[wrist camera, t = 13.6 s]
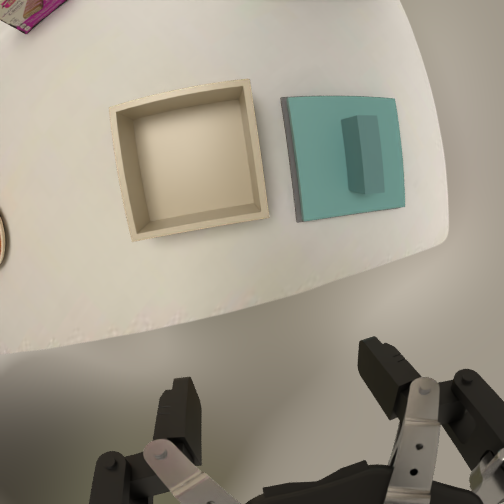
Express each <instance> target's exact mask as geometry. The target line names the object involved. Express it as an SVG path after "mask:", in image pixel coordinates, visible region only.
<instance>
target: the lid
mask: <svg viewBox="0 0 504 504" xmlns="http://www.w3.org/2000/svg"><path fill="white" fill-rule="evenodd" d="M286 100H287V106H288V113H289V119H290V126H291V133H292V140H293V147H294V154H295V162H296V169H297V177H298V186H299V194H300V203H301V213H302V220H303V221H310V220H316V219H323V218H329V217H336V216H343V215H350V214H356V213H363V212H370V211H377V210H385V209H392V208H399V207H405V189H404V171H403V158H402V148H401V138H400V130H399V122H398V115H397V109H396V103H395V99H393V98H380V97H359V96H309V97H288V98H287V99H286Z"/></svg>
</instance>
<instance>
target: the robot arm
mask: <svg viewBox="0 0 504 504" xmlns="http://www.w3.org/2000/svg"><path fill="white" fill-rule="evenodd" d="M358 371H359V373H360V376H361V377H362V379H363V380H364V382H365V383H366V385H367V386H368V388H369V389H370V391H371V392H372V394H373V396H374V397H375V398H376V400H377V402H378V403H379V405H380V406H381V408H382V409H383V411H384V412H385V414H386V416H387V417H388V419H389V420H392V419H394V418H397V417H398V418H399V420H400V422H399V425H398V430H397V434H396V438H395V442H394V446H393V450H392V453H391V456H390V460H389V462H388V465H368V464H367V462H366V461H365V460H363V461H361V462H358V463H355V464H353V465H350V466H347V467H344V468H341V469H340V470H338V471H336V472H334V473H332V474H331V475H329V476H327V477H325V478H323V479H321V480H319V481H316V482H297V483H285V484H280V485H275V486H270V487H264V488H263V492H264V494H261V495H259V496H257V497H255V498H253V499H251V500H250V501H248V502H247V503H246V504H499V503H502V502H504V401H503V400H502V399H501V398H500V397H499V396H498V395H497V394H496V393H495V391H494V390H493V389H491V387H490V386H489V385H488V384H487V383H486V382H485V381H484V380H483V379H482V378H481V376H480V375H479V374H478V373H477V372H475V371H473V370H470V369H463V370H460V371H458V372H457V373H456V374H455V376H454V379H453V380H450V381H445V382H439V383H437V382H436V381H435V380H434V379H432V378H429V377H421V376H420V374H419V373H418V372H417V371H416V370H415V369H414V368H413V367H412V365H411V364H410V363H409V362H408V361H407V360H405V358H404V357H403V356H402V355H401V353H400V352H399V351H398V350H397V349H396V348H395V347H394V346H392V345H390V344H387V343H384V344H382V343H381V342H380V341H379V340H378V339H377V338H376V337H375V336H373V337H370V338H367V339H364V340H361V341H360V342H359V353H358ZM158 407H159V408H158V412H157V417H156V424H155V430H154V436H153V441H152V442H150V443H149V444H148V445H147V446H146V447H145V449H144V451H143V452H141V453H138V454H134V455H130V456H126V457H124V456H123V455H122V454H120V453H119V452H115V451H110V452H106V453H104V454H102V455H101V456H100V457H99V458H98V460H97V462H96V467H95V472H94V477H93V483H92V489H91V495H90V502H89V504H153V496H154V495H157V494H161V493H165V492H169V491H171V493H172V494H173V495H174V496H175V497H176V498H177V499H178V501H179V502H180V503H181V504H241V503H240V502H238V501H237V500H236V499H235V498H234V497H232V496H231V495H230V494H229V493H227V492H226V491H225V490H224V489H223V488H222V487H220V486H219V485H218V484H217V483H216V482H215V481H213V479H211V478H210V477H209V476H208V475H207V474H206V473H204V472H201V471H200V470H199V469H198V468H197V467H196V466H201V465H202V462H201V461H202V459H201V458H202V456H201V404H200V399H199V397H198V394H197V392H196V389H195V387H194V384H193V381H192V379H191V377H183V378H175V379H174V381H173V388H172V390H165V391H164V393H163V394H162V396H161V397H160V401H159V406H158ZM440 425H442V426H443V428H444V429H445V431H446V432H447V434H448V435H449V437H450V438H451V440H452V441H453V443H454V444H455V446H456V447H457V449H458V450H459V452H460V453H461V455H462V457H463V458H464V460H465V461H466V463H467V465H468V466H469V468H470V469H471V471H472V472H471V474H470V478H469V481H470V488H471V490H472V491H469V490H465V489H462V488H457V487H454V486H450V485H447V484H443V483H440V482H436V481H433V475H434V469H435V463H436V457H437V451H438V443H439V435H440Z"/></svg>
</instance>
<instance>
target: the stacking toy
mask: <svg viewBox="0 0 504 504" xmlns="http://www.w3.org/2000/svg"><path fill="white" fill-rule="evenodd" d="M4 252H5V232H4V227H3V223H2V220H1V217H0V264H1V262H2V260H3V256H4Z"/></svg>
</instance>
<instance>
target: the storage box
mask: <svg viewBox="0 0 504 504" xmlns="http://www.w3.org/2000/svg"><path fill="white" fill-rule="evenodd" d="M109 114H110V123H111V132H112V139H113V147H114V153H115V160H116V166H117V172H118V178H119V183H120V189H121V194H122V199H123V204H124V209H125V213H126V218H127V222H128V227H129V231H130V235H131V239H132V242H134V241H140V240H145V239H150V238H155V237H160V236H166V235H171V234H176V233H182V232H187V231H193V230H199V229H204V228H210V227H216V226H222V225H228V224H234V223H240V222H246V221H252V220H258V219H264V218H269V211H268V203H267V195H266V188H265V181H264V173H263V166H262V159H261V152H260V145H259V138H258V131H257V124H256V118H255V111H254V105H253V98H252V92H251V85H250V79H241V80H233V81H225V82H218V83H211V84H205V85H199V86H193V87H188V88H183V89H178V90H173V91H168V92H164V93H159V94H155V95H151V96H147V97H143V98H140V99H136V100H132V101H129V102H125V103H122V104H119V105H115V106H112V107H109Z"/></svg>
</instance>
